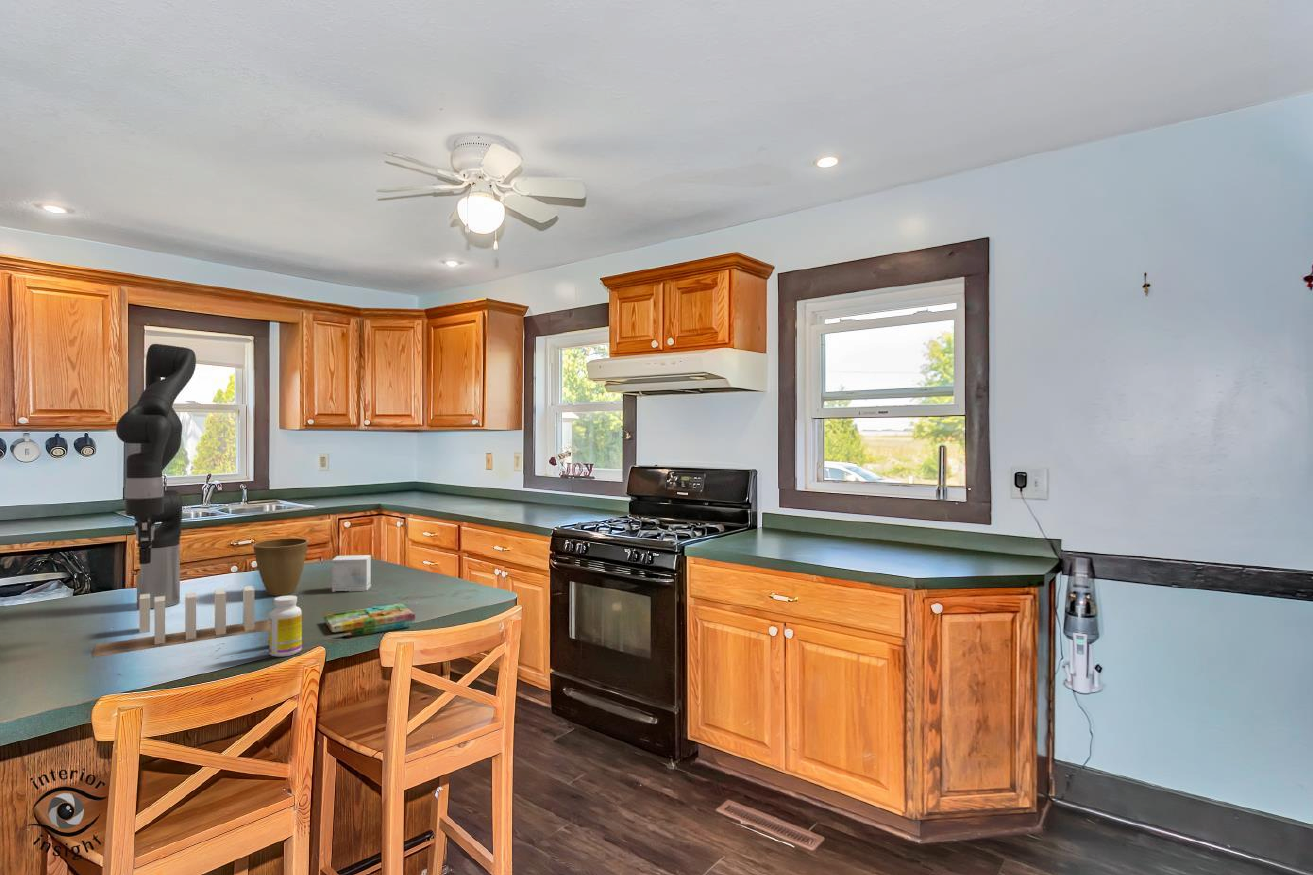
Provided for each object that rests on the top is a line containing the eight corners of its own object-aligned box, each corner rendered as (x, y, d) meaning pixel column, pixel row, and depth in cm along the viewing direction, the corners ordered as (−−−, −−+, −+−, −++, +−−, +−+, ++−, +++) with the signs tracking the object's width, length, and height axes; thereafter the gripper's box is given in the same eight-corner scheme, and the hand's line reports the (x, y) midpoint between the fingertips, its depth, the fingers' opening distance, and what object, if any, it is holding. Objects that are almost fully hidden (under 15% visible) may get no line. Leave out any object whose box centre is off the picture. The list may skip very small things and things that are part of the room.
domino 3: (186, 639, 159) (185, 598, 158) (185, 634, 163) (185, 593, 162) (196, 638, 160) (196, 596, 160) (195, 632, 164) (195, 592, 164)
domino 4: (216, 635, 162) (216, 594, 162) (214, 630, 166) (214, 590, 166) (225, 633, 163) (225, 593, 163) (224, 628, 167) (224, 589, 167)
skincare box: (331, 592, 210) (331, 559, 209) (336, 587, 216) (336, 555, 216) (366, 591, 212) (366, 558, 211) (371, 586, 218) (371, 554, 218)
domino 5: (245, 630, 166) (245, 590, 166) (243, 625, 170) (243, 586, 170) (254, 629, 167) (254, 589, 167) (252, 624, 171) (252, 585, 171)
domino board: (91, 663, 147) (91, 657, 146) (95, 651, 155) (95, 644, 155) (278, 634, 168) (278, 628, 168) (273, 624, 176) (273, 619, 176)
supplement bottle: (308, 650, 157) (308, 595, 157) (284, 659, 151) (284, 602, 150) (286, 646, 159) (286, 593, 159) (262, 655, 153) (262, 600, 153)
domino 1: (139, 639, 163) (139, 598, 163) (140, 634, 167) (139, 594, 167) (149, 638, 164) (149, 597, 164) (150, 632, 168) (150, 593, 168)
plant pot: (267, 587, 214) (267, 538, 214) (315, 587, 216) (315, 537, 216) (243, 599, 200) (243, 546, 199) (295, 599, 201) (295, 546, 201)
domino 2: (154, 644, 155) (154, 601, 155) (154, 638, 159) (154, 597, 159) (165, 642, 156) (165, 600, 156) (165, 637, 160) (165, 595, 160)
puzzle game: (415, 610, 175) (331, 623, 164) (414, 628, 175) (331, 642, 164) (403, 600, 185) (323, 611, 173) (403, 617, 185) (323, 629, 173)
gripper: (163, 497, 161) (164, 564, 162) (163, 492, 173) (163, 554, 173) (124, 499, 157) (124, 567, 157) (126, 494, 168) (126, 557, 169)
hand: (145, 560), depth 165 cm, fingers open, 8 cm apart
